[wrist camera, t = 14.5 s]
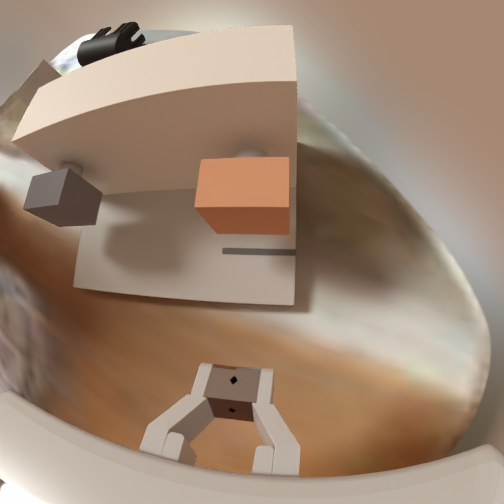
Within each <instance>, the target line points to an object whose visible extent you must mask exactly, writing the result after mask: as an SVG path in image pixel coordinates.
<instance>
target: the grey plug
mask: <svg viewBox="0 0 504 504" xmlns="http://www.w3.org/2000/svg"><path fill="white" fill-rule="evenodd" d="M82 175H83V169H82V168H81V167H80V166H78V165H76V164H73V163H62V164H61V165H60V168H59V170H57V171H52V172H48V173H44V174H40V175H36V176H33V177H32V180H31V183H30V187H29V190H28V193H27V197H26V200H25V204H24V208H23V209H24V210H26V211H28V212H30V213H32V214H34V215H36V216H38V217H40V218H42V219H44V220H46V221H48V222H50V223H52V224H55V225H57V226H59V227H62V226H88V225H96V221H97V216H98V212H99V207H100V202H101V198H102V194H103V193H102V192H101V191H99V190H98V189H97V188H95V187H94V186H93V185H91V184H90V183H89V182H87V181H86V180H84V179H83V178H82Z"/></svg>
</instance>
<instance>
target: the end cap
mask: <svg viewBox="0 0 504 504" xmlns="http://www.w3.org/2000/svg"><path fill="white" fill-rule="evenodd" d="M110 29H111V27H107V28H104V29H101V30H100V31H99V32H98V33H97V34H96V35H95V36H94V37H93V38H92V39H91V40H87V41H84V42H82V43H81V45H80V46H79V49H78V52H77V58H78V62H79V64H80V65H81V66H82V67H84V66H86V65H89V64H91V63H94V62H96V61H99V60H102V59H104V58H107V57H110V56H113V55H115V54H118V53H121V52H124V51H128V50H131V49H134V48H137V47H141V46H144V45H146V44H143V43H144V41H145V37H144V36H143V34H141V35H140V36H139V37H138V38H137V39H136V40H135V41H132V42H131V37H132V36H133V35H134V34H135V33H136V32H137V31H138V30H139V29H140V28H139V26H138V24H137V23H136V22H129V23H124V24H122V25H121V26H120V27H119V28H118V29H117V30H115V31H114V32H113V33H111V34H109V35H106V33H107V32H108V31H109V30H110ZM105 35H106V36H105Z"/></svg>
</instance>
